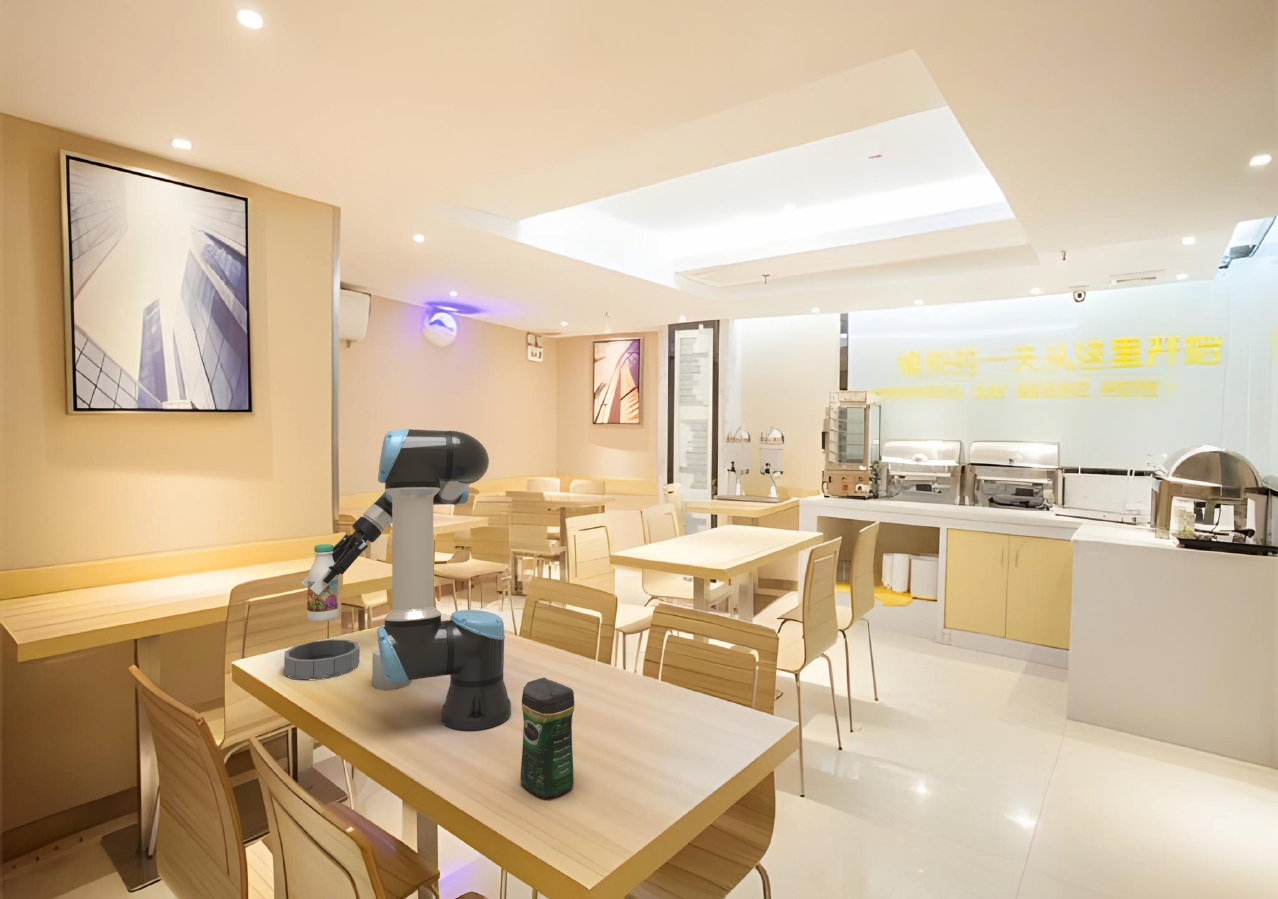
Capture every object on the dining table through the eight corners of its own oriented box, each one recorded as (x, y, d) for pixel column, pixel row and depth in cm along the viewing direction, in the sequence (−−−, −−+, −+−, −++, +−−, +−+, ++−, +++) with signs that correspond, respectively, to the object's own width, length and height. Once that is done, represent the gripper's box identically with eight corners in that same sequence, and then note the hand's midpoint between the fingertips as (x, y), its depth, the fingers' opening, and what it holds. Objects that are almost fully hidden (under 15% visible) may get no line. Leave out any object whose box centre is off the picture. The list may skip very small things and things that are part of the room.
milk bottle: (310, 616, 176) (310, 543, 176) (340, 614, 178) (341, 542, 178) (304, 623, 168) (305, 547, 168) (336, 621, 171) (337, 546, 170)
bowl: (372, 665, 176) (372, 647, 176) (309, 685, 161) (310, 665, 161) (333, 653, 186) (333, 635, 185) (270, 671, 170) (270, 652, 170)
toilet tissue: (398, 670, 173) (399, 638, 173) (416, 685, 162) (417, 651, 162) (363, 677, 167) (364, 644, 167) (380, 693, 157) (380, 658, 157)
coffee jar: (581, 787, 115) (582, 685, 115) (545, 804, 109) (547, 696, 109) (548, 767, 122) (549, 670, 122) (513, 783, 116) (514, 681, 116)
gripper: (395, 537, 176) (331, 604, 165) (369, 528, 191) (309, 590, 180) (375, 519, 172) (309, 587, 161) (350, 512, 187) (289, 574, 177)
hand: (309, 588), depth 171 cm, fingers closed on milk bottle, 7 cm apart
